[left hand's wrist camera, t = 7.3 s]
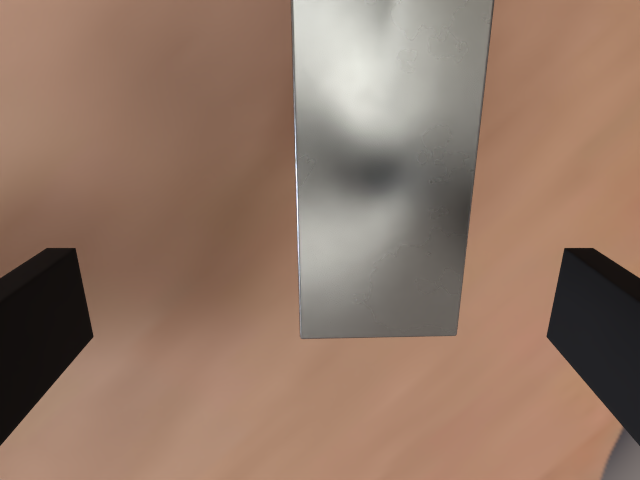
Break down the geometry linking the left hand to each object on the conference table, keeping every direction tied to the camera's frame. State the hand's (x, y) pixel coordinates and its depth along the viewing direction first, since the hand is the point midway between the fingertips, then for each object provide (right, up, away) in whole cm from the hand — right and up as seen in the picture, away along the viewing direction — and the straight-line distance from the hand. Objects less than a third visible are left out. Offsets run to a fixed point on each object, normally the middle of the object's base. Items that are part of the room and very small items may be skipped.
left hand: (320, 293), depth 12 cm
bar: (+2, +12, +8) cm, 14 cm away
